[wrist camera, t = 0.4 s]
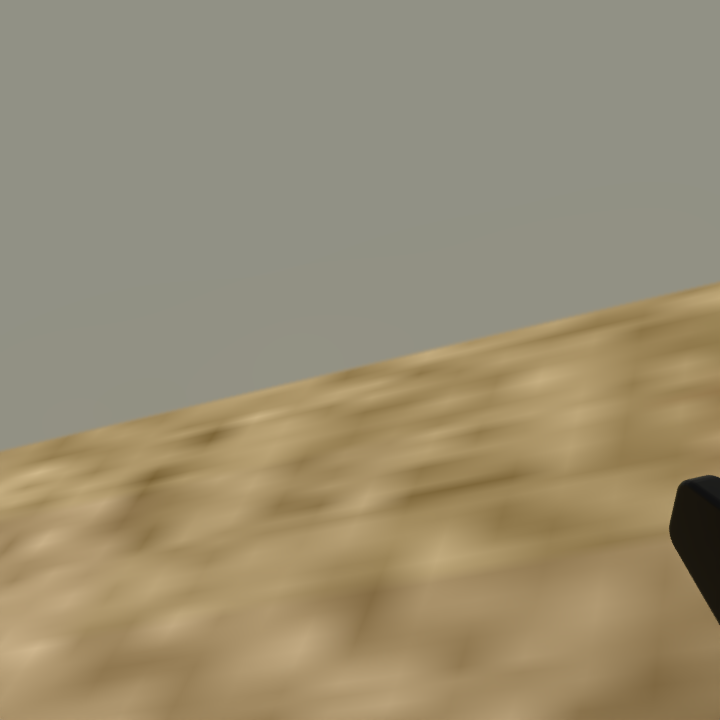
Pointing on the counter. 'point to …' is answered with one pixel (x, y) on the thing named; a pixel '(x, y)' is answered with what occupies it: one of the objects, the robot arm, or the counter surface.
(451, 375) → the counter surface
